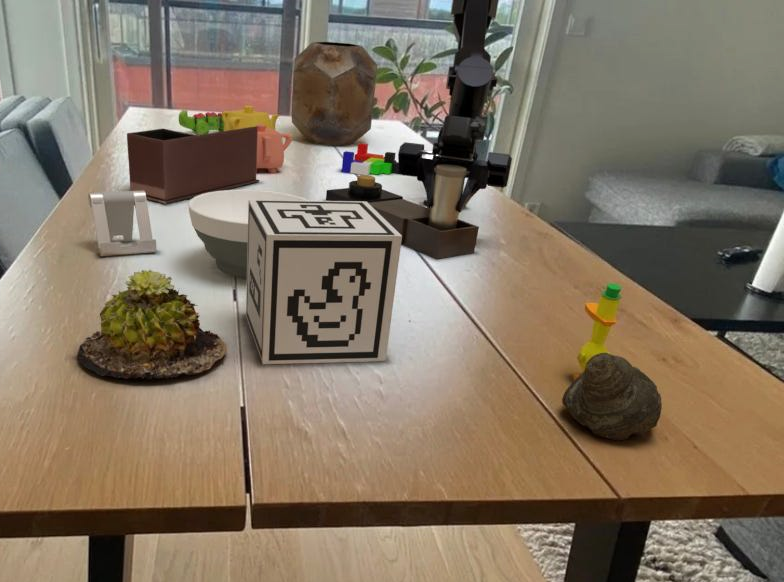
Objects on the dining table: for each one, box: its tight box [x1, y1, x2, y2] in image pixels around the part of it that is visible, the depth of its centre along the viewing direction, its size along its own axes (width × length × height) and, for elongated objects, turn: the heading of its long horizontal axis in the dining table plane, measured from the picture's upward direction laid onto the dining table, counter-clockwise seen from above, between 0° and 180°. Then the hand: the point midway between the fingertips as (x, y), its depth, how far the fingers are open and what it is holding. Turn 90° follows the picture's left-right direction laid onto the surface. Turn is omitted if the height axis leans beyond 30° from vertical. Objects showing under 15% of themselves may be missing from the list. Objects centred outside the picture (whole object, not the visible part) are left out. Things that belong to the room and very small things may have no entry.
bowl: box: [187, 189, 311, 280], centre depth 115 cm, size 20×20×10 cm
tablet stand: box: [87, 190, 157, 257], centre depth 120 cm, size 9×8×8 cm
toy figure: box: [573, 282, 622, 381], centre depth 88 cm, size 7×4×12 cm, turn 8°
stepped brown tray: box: [369, 198, 480, 260], centre depth 136 cm, size 9×20×4 cm, turn 34°
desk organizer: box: [126, 126, 260, 205], centre depth 156 cm, size 10×29×11 cm, turn 145°
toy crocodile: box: [178, 109, 225, 135], centre depth 211 cm, size 20×7×6 cm, turn 114°
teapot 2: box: [256, 124, 293, 174], centre depth 175 cm, size 12×12×10 cm
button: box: [356, 174, 376, 187], centre depth 154 cm, size 4×4×2 cm
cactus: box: [76, 268, 227, 380], centre depth 87 cm, size 17×16×10 cm
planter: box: [290, 41, 378, 147], centre depth 208 cm, size 22×24×24 cm
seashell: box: [561, 353, 663, 441], centre depth 80 cm, size 11×12×10 cm
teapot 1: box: [221, 105, 282, 131], centre depth 194 cm, size 14×13×10 cm
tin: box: [428, 164, 467, 231], centre depth 130 cm, size 5×5×13 cm
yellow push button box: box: [325, 180, 404, 203], centre depth 155 cm, size 12×10×4 cm
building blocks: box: [341, 142, 400, 176], centre depth 185 cm, size 15×13×4 cm
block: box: [245, 200, 402, 365], centre depth 93 cm, size 15×15×15 cm
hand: (443, 208), depth 128 cm, fingers closed on tin, 5 cm apart
